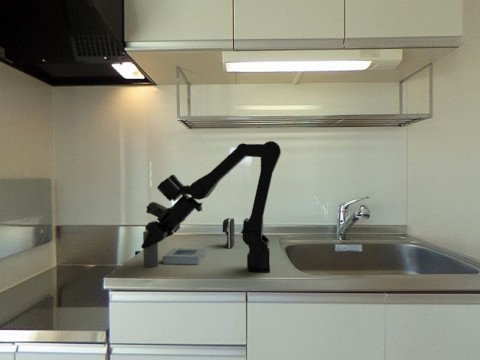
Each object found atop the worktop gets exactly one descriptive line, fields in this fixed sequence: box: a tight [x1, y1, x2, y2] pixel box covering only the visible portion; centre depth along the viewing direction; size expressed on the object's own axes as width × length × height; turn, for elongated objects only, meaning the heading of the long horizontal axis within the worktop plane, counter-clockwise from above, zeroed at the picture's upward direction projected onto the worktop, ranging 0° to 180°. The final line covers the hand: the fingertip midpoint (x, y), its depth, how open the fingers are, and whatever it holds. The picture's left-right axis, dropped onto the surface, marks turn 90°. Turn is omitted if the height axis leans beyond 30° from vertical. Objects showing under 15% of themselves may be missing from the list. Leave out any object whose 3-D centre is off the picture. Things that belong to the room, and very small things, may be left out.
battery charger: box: [222, 217, 235, 249], centre depth 139 cm, size 7×4×11 cm, turn 170°
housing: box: [162, 247, 207, 266], centre depth 118 cm, size 12×12×2 cm
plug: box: [142, 228, 159, 269], centre depth 110 cm, size 4×4×12 cm
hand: (146, 245), depth 110 cm, fingers open, 7 cm apart
